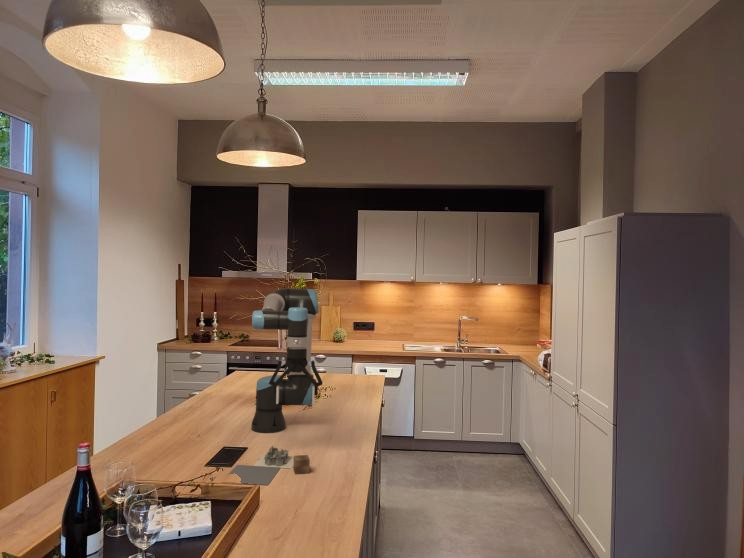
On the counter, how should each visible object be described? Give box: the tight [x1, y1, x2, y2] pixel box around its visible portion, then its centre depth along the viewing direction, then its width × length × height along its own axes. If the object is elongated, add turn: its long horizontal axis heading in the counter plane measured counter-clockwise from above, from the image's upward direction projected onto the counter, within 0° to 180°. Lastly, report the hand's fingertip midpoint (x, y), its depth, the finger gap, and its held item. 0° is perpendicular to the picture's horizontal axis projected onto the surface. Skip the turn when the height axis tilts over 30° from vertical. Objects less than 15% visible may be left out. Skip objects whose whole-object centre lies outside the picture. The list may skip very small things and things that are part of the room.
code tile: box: [253, 454, 294, 470], centre depth 196 cm, size 14×12×1 cm
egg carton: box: [264, 445, 290, 466], centre depth 196 cm, size 11×8×4 cm
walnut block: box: [292, 454, 311, 476], centre depth 187 cm, size 5×5×5 cm
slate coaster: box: [227, 464, 282, 486], centre depth 182 cm, size 16×16×1 cm
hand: (295, 403), depth 202 cm, fingers open, 13 cm apart
